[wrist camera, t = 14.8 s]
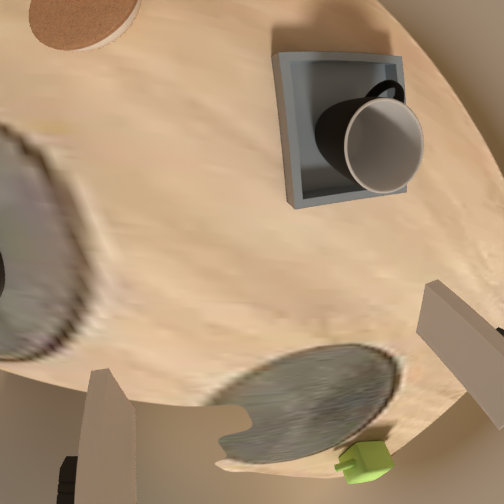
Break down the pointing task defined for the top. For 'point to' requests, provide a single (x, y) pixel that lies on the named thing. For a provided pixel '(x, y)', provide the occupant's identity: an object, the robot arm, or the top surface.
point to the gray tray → (310, 109)
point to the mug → (372, 139)
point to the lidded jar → (81, 22)
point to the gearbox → (365, 461)
